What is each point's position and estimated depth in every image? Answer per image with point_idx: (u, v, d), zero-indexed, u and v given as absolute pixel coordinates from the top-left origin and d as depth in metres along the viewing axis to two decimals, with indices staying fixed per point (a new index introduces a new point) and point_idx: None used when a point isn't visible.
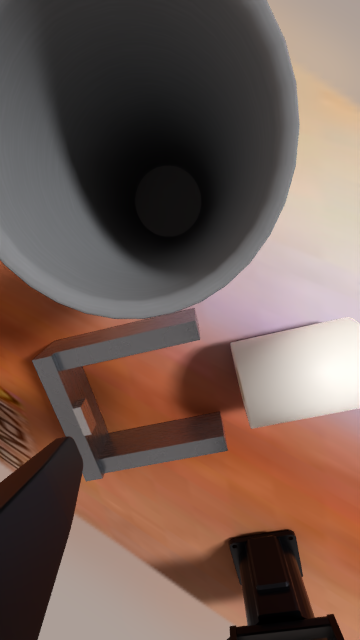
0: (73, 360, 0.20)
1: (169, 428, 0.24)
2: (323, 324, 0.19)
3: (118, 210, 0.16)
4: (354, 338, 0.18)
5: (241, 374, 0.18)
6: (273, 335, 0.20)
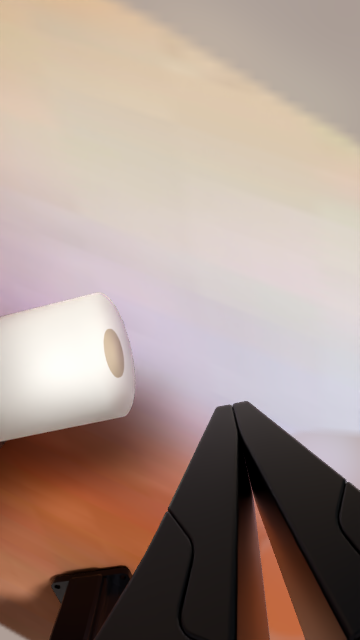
0: None
1: None
2: (59, 302, 0.14)
3: None
4: (65, 318, 0.12)
5: None
6: None
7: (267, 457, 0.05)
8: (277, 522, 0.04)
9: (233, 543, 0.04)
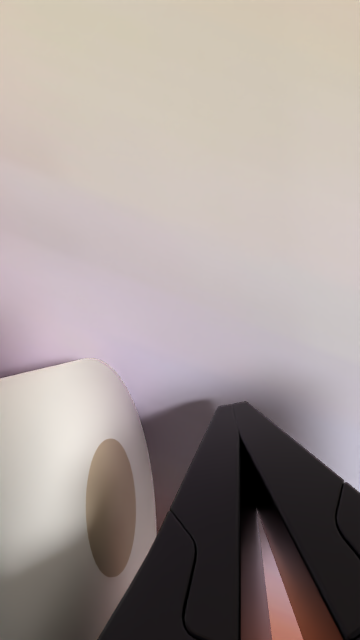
0: None
1: None
2: None
3: None
4: None
5: None
6: None
7: (265, 457, 0.05)
8: (275, 522, 0.04)
9: (236, 543, 0.04)
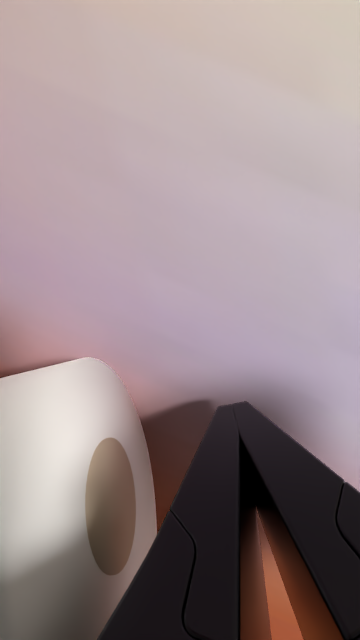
0: None
1: None
2: None
3: None
4: None
5: None
6: None
7: (265, 457, 0.05)
8: (275, 522, 0.04)
9: (235, 542, 0.04)
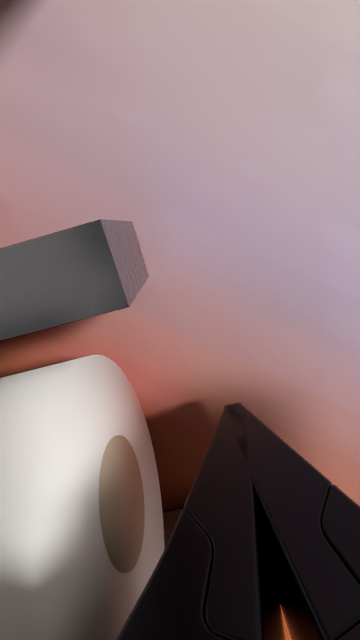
0: None
1: None
2: None
3: None
4: None
5: None
6: None
7: (255, 459, 0.05)
8: (263, 524, 0.04)
9: (253, 540, 0.04)
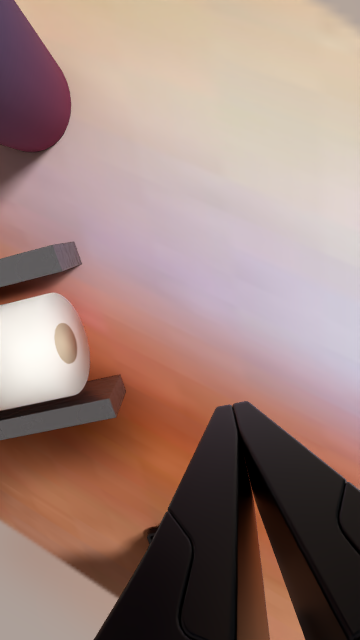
0: None
1: None
2: None
3: None
4: (19, 315, 0.15)
5: None
6: None
7: (267, 457, 0.05)
8: (277, 522, 0.04)
9: (233, 543, 0.04)
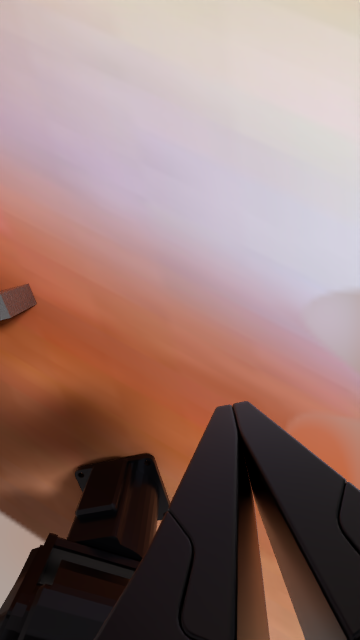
0: None
1: None
2: None
3: None
4: None
5: None
6: None
7: (267, 457, 0.05)
8: (277, 522, 0.04)
9: (233, 543, 0.04)
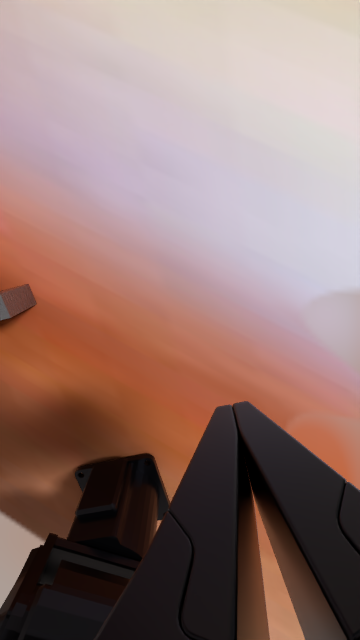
0: None
1: None
2: None
3: None
4: None
5: None
6: None
7: (267, 457, 0.05)
8: (277, 522, 0.04)
9: (233, 543, 0.04)
